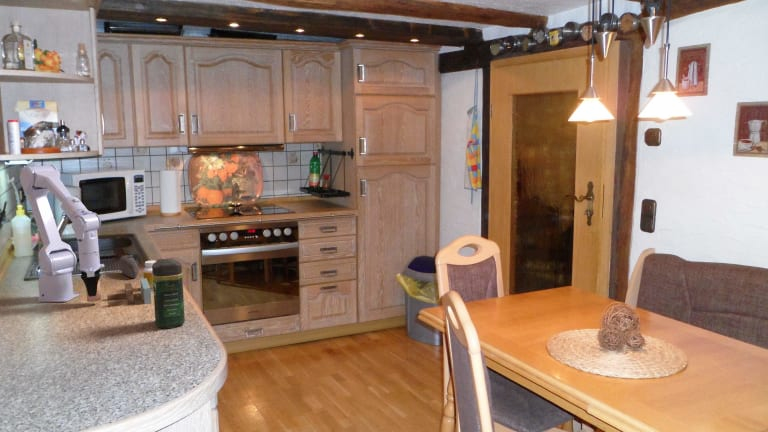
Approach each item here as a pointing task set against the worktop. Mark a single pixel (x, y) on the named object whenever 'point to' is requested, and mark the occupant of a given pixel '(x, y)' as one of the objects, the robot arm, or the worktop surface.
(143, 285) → the backstop board
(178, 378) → the worktop surface
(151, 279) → the supplement bottle
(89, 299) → the pink egg shape
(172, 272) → the coffee jar
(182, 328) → the worktop surface
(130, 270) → the perforated stone tool
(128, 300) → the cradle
